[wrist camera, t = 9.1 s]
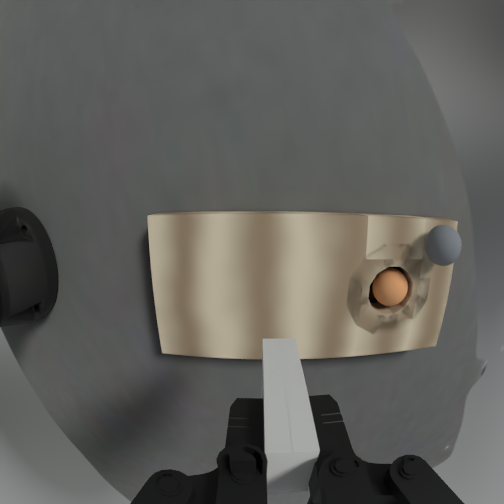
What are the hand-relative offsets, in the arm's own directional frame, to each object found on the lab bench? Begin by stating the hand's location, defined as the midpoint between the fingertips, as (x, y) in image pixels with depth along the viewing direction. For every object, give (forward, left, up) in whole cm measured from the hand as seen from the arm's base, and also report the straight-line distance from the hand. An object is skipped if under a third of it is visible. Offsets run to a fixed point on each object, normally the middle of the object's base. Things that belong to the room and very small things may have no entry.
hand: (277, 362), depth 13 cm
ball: (+11, 0, -12) cm, 16 cm away
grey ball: (+15, +4, -9) cm, 18 cm away
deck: (+4, 0, -14) cm, 14 cm away
